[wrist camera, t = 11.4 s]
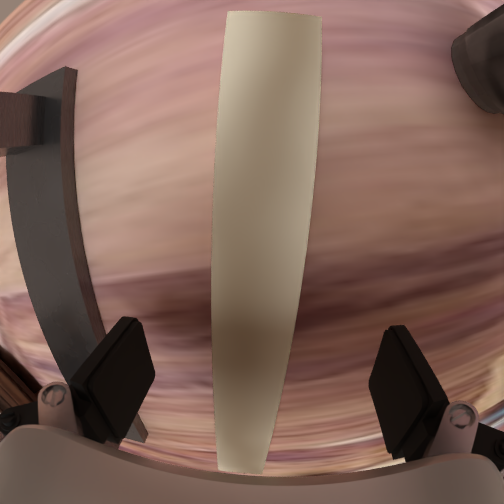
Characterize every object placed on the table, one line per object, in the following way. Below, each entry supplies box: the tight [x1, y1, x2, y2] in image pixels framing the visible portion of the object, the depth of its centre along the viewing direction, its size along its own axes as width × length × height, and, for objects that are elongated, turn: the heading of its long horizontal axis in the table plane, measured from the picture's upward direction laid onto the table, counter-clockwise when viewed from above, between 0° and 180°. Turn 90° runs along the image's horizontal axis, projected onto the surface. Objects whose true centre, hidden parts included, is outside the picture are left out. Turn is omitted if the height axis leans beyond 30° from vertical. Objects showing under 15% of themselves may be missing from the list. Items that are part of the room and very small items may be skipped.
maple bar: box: [211, 11, 322, 474], centre depth 11 cm, size 3×24×3 cm, turn 176°
